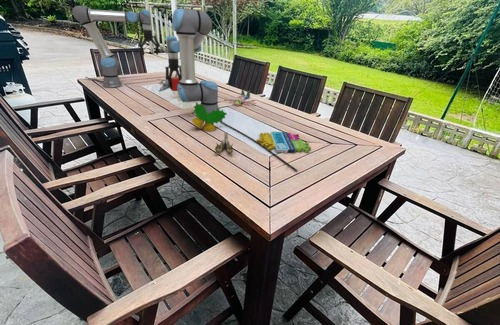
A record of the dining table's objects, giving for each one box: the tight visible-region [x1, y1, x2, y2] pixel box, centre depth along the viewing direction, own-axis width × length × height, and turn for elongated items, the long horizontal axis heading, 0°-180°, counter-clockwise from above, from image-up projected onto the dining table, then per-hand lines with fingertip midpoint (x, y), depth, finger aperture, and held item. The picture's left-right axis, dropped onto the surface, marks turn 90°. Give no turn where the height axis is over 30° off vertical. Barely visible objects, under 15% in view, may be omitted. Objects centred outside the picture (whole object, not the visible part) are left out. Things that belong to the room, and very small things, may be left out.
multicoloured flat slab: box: [256, 131, 312, 154], centre depth 152 cm, size 26×2×30 cm
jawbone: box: [214, 131, 234, 156], centre depth 136 cm, size 9×15×10 cm
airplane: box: [156, 72, 178, 92], centre depth 249 cm, size 38×31×10 cm
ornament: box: [191, 101, 228, 132], centre depth 162 cm, size 21×8×15 cm, turn 105°
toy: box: [223, 89, 257, 106], centre depth 219 cm, size 28×7×30 cm
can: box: [170, 76, 180, 92], centre depth 211 cm, size 7×7×10 cm
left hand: (150, 54), depth 247 cm, fingers open, 13 cm apart
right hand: (175, 88), depth 213 cm, fingers closed on can, 7 cm apart
